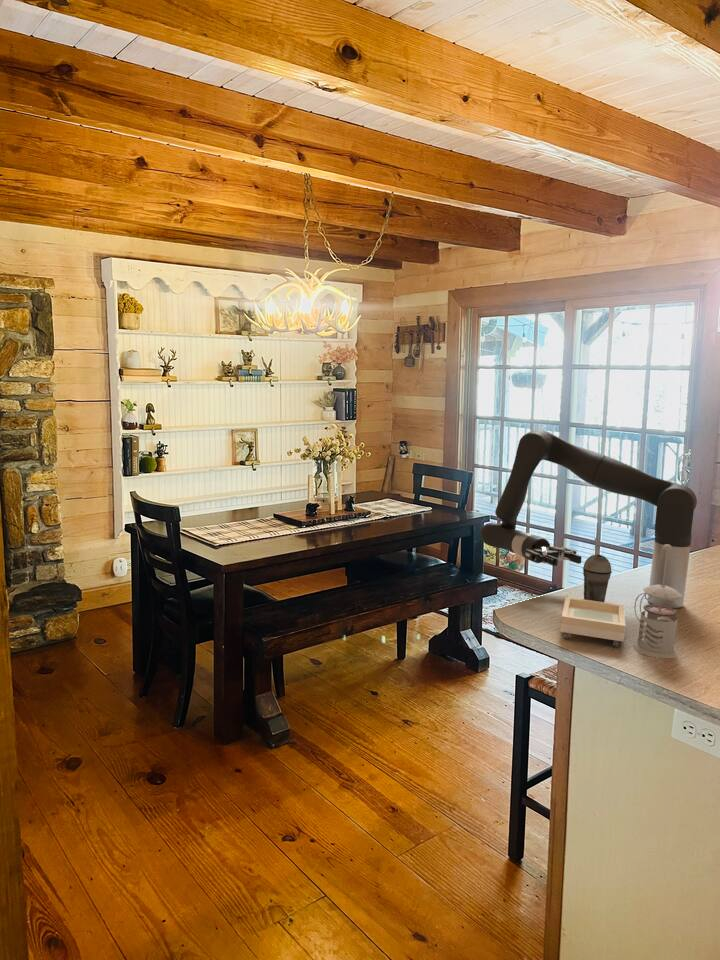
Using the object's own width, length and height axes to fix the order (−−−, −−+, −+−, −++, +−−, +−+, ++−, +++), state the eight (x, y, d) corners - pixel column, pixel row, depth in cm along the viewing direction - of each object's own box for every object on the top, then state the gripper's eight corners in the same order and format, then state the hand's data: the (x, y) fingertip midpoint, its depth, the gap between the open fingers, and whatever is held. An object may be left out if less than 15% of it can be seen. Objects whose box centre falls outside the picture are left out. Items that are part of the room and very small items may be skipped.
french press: (655, 660, 157) (668, 551, 153) (617, 641, 167) (628, 538, 163) (688, 655, 161) (701, 548, 157) (649, 637, 171) (660, 536, 167)
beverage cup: (609, 618, 183) (617, 543, 180) (580, 615, 185) (587, 540, 182) (605, 609, 190) (613, 536, 187) (577, 606, 192) (584, 534, 189)
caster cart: (563, 618, 181) (565, 596, 180) (621, 627, 177) (623, 605, 176) (559, 639, 166) (561, 616, 165) (622, 649, 162) (625, 625, 161)
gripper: (512, 536, 206) (549, 549, 192) (550, 533, 212) (589, 546, 198) (510, 561, 207) (547, 576, 193) (548, 557, 213) (587, 572, 199)
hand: (568, 561), depth 195 cm, fingers open, 8 cm apart
